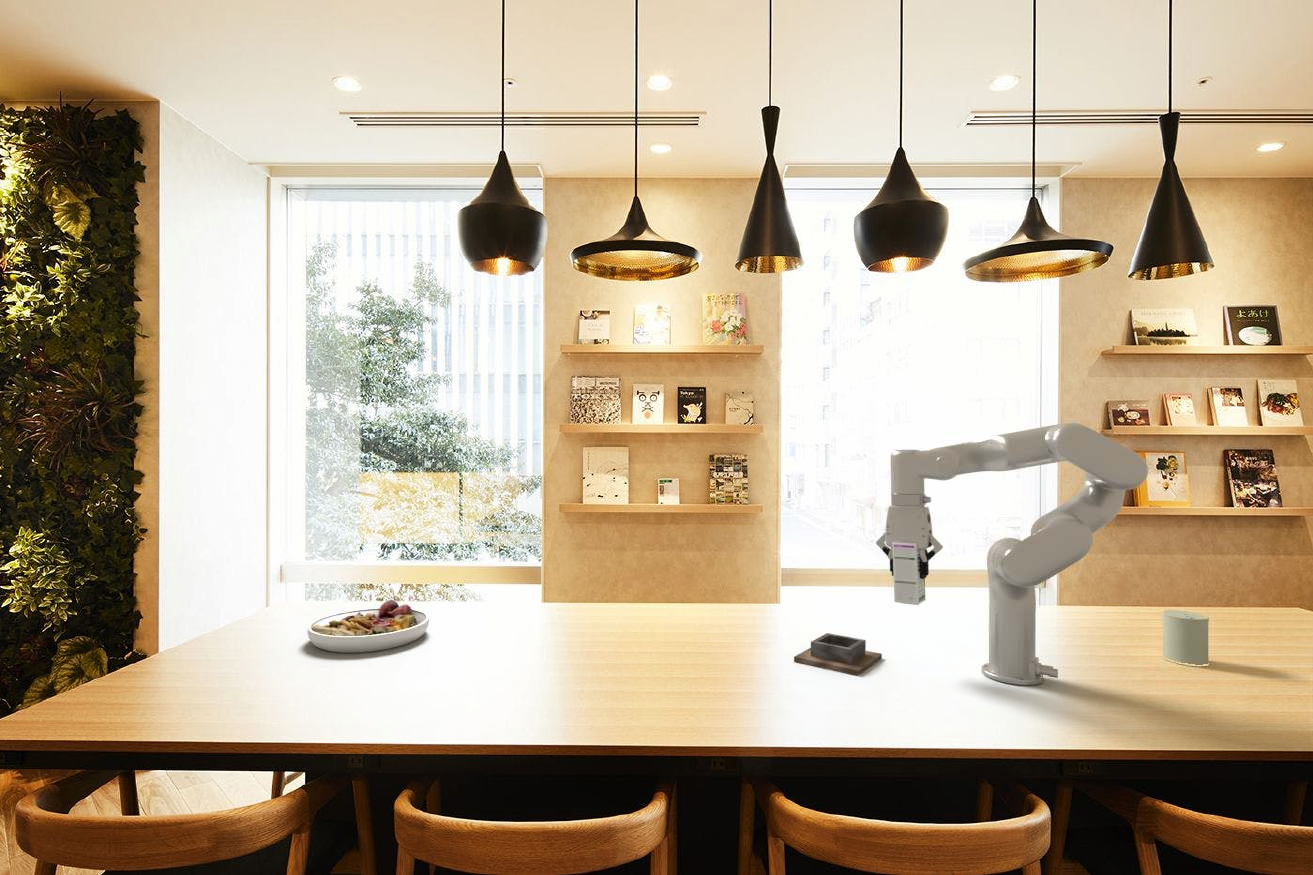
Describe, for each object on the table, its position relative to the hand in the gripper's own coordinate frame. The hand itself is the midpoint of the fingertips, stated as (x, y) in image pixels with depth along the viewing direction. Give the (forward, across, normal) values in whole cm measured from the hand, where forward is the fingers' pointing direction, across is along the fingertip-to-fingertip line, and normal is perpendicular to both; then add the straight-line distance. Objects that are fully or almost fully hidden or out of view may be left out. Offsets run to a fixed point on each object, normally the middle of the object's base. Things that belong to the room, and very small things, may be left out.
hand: (909, 575), depth 160 cm
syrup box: (+6, 0, 0) cm, 6 cm away
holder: (+22, +16, +5) cm, 27 cm away
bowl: (+20, +122, +67) cm, 141 cm away
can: (+23, -52, -49) cm, 75 cm away
